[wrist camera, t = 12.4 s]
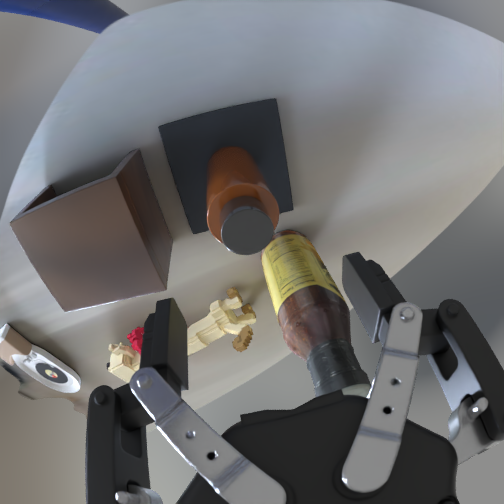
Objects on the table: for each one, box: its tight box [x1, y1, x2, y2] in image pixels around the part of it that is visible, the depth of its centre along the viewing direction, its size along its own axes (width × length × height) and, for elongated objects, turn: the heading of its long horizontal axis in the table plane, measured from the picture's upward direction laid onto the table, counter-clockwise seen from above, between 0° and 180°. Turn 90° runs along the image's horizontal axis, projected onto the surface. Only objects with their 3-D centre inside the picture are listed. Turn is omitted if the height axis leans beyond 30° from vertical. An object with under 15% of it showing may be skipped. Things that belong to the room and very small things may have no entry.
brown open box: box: [9, 149, 173, 312], centre depth 25 cm, size 11×12×8 cm
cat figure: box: [107, 287, 256, 383], centre depth 36 cm, size 10×9×25 cm
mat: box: [158, 98, 293, 234], centre depth 27 cm, size 12×11×1 cm
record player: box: [0, 323, 81, 393], centre depth 39 cm, size 12×3×20 cm
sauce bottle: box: [261, 230, 371, 397], centre depth 26 cm, size 6×6×20 cm
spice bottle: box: [206, 146, 279, 255], centre depth 22 cm, size 5×5×12 cm
